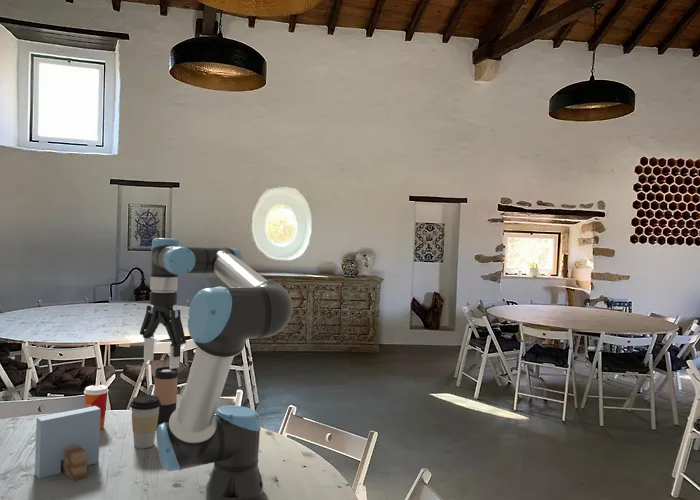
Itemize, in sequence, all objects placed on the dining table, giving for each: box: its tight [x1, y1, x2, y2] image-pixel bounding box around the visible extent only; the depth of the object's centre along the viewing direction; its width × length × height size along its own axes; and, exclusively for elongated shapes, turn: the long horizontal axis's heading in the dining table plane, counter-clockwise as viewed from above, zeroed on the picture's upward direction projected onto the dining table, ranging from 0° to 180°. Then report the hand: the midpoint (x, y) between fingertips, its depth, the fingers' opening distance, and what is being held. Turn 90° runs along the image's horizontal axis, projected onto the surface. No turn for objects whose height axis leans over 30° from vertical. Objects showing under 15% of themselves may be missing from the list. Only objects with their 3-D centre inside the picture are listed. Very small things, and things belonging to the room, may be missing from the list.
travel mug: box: [153, 366, 179, 427], centre depth 193 cm, size 8×8×20 cm
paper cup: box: [83, 384, 109, 431], centre depth 187 cm, size 8×8×14 cm
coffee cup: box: [129, 394, 161, 450], centre depth 176 cm, size 9×9×15 cm
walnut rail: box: [61, 445, 88, 482], centre depth 157 cm, size 18×4×7 cm, turn 47°
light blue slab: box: [34, 406, 101, 479], centre depth 157 cm, size 4×16×16 cm, turn 137°
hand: (161, 363), depth 160 cm, fingers open, 13 cm apart
